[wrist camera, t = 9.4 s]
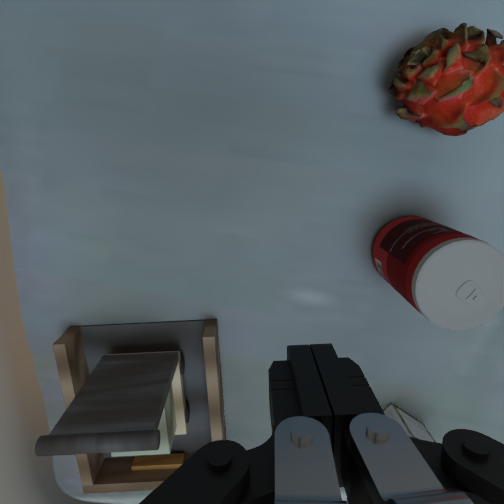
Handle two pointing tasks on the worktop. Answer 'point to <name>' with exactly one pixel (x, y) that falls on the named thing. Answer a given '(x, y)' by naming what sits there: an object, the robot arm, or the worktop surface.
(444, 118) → the dragon fruit
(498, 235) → the worktop surface
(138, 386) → the grey l-shaped piece
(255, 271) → the worktop surface
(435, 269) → the canned food
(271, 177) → the worktop surface
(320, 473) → the robot arm
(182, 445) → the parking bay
